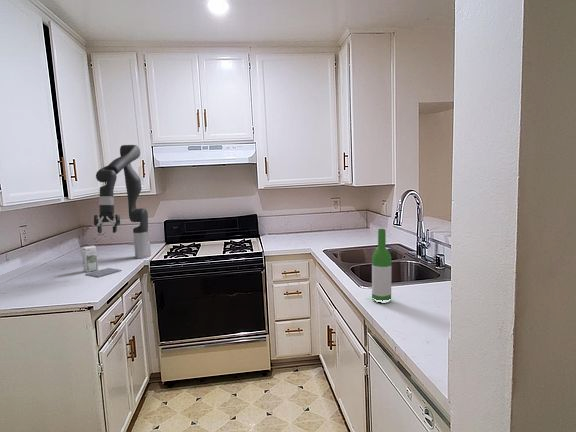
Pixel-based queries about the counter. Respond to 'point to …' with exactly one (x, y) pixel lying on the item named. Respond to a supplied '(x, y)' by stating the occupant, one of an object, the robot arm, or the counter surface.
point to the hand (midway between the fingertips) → (107, 232)
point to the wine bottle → (381, 269)
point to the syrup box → (89, 258)
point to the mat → (103, 272)
